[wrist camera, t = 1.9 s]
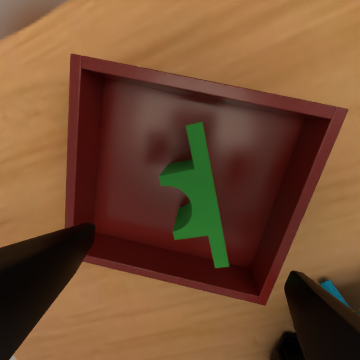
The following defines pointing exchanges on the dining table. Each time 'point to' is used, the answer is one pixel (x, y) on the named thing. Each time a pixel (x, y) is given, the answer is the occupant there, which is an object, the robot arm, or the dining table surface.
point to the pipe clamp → (197, 196)
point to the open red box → (180, 151)
